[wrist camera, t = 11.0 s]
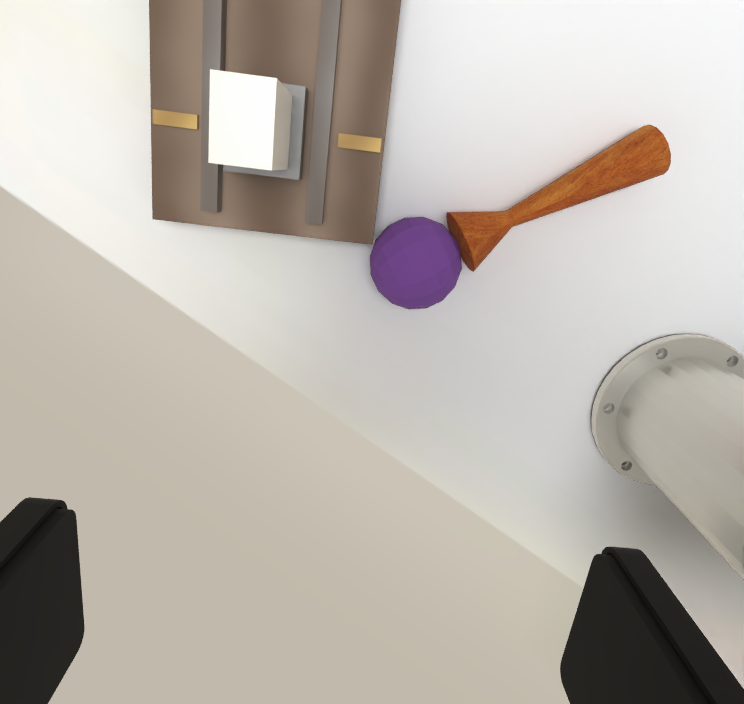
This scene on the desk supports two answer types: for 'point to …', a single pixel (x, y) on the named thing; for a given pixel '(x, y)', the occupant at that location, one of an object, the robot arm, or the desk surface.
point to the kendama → (500, 222)
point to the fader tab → (257, 124)
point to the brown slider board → (290, 66)
